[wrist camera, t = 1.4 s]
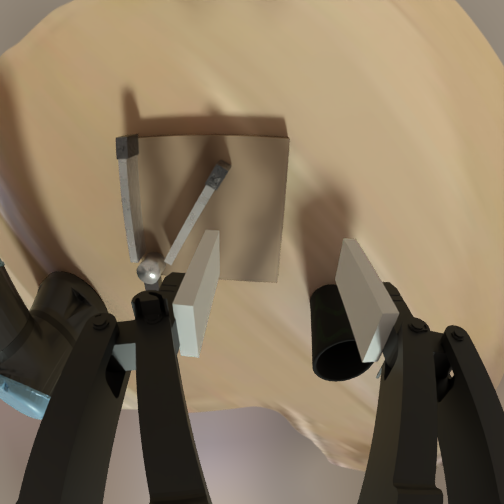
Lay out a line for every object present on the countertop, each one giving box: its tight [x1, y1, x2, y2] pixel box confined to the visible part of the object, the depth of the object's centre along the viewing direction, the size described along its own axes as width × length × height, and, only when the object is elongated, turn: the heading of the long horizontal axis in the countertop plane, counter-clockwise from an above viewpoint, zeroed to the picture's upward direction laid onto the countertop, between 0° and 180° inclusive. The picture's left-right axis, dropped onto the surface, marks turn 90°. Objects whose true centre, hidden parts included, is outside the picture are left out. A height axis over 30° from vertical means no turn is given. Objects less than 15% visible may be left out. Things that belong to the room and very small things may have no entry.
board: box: [138, 134, 290, 283], centre depth 34 cm, size 18×18×2 cm
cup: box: [310, 285, 374, 381], centre depth 35 cm, size 8×8×12 cm
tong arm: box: [164, 159, 232, 265], centre depth 31 cm, size 1×13×3 cm, turn 148°
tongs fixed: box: [116, 134, 166, 291], centre depth 32 cm, size 4×20×3 cm, turn 178°
